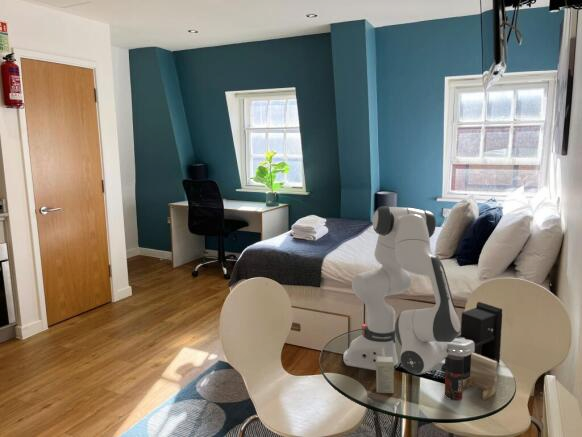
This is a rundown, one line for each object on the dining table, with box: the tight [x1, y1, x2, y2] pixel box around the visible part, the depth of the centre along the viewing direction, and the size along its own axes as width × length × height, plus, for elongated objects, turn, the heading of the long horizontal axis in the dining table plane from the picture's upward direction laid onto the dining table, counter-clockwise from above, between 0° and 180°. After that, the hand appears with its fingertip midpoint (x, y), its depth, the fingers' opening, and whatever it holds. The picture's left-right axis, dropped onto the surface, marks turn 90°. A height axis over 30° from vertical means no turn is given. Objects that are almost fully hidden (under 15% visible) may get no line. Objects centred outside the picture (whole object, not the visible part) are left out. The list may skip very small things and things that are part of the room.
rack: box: [463, 353, 499, 401], centre depth 159 cm, size 8×9×12 cm
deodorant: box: [444, 354, 464, 401], centre depth 156 cm, size 6×6×15 cm
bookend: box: [441, 301, 503, 380], centre depth 176 cm, size 23×11×24 cm, turn 123°
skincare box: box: [375, 356, 395, 394], centre depth 160 cm, size 6×4×12 cm
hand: (448, 338), depth 148 cm, fingers open, 8 cm apart
